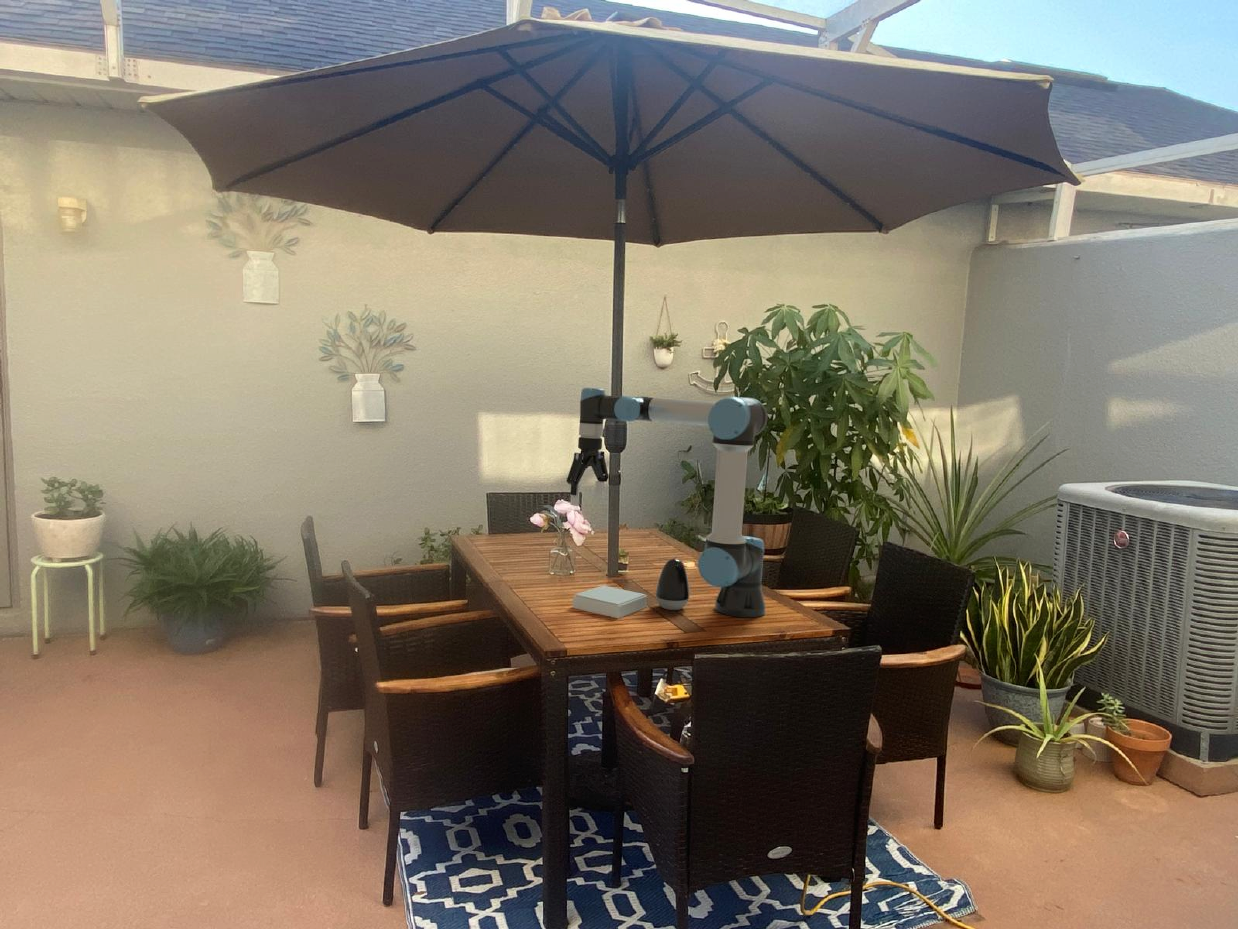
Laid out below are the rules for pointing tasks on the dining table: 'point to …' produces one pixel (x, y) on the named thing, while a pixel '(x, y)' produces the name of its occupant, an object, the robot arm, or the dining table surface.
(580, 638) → the dining table surface
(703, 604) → the dining table surface
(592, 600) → the plinth
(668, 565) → the black grey egg speaker
